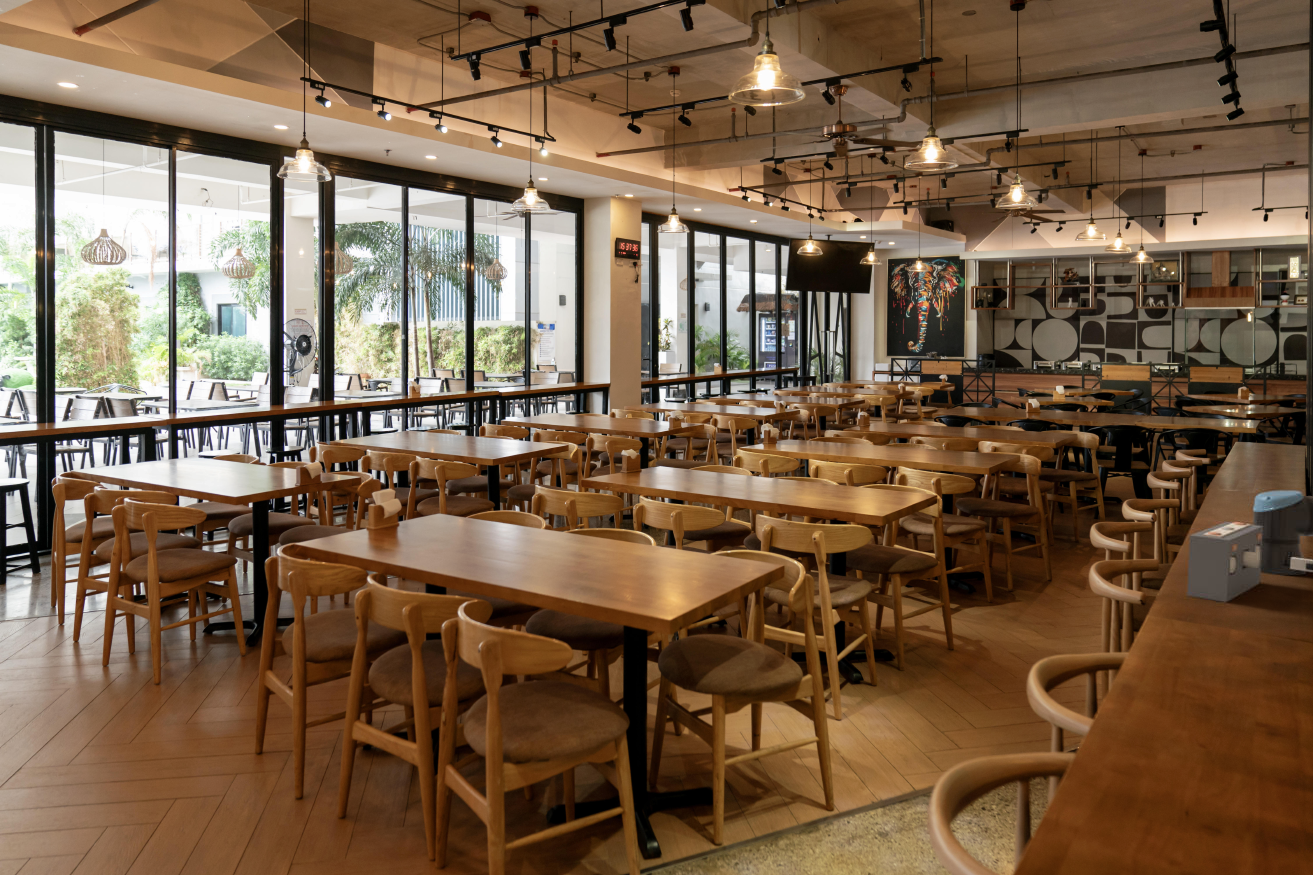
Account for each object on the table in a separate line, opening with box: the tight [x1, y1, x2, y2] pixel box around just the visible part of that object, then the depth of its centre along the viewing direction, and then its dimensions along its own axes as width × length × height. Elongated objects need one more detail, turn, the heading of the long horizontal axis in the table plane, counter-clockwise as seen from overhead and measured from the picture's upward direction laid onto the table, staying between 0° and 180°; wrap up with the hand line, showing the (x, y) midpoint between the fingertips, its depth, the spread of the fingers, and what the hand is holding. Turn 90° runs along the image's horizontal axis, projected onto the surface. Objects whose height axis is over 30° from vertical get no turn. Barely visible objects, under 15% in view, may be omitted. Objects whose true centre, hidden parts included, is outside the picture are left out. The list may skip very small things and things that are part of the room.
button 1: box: [1230, 557, 1236, 573], centre depth 232 cm, size 4×6×4 cm
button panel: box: [1186, 521, 1263, 603], centre depth 241 cm, size 30×9×17 cm, turn 132°
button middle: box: [1243, 551, 1260, 568], centre depth 238 cm, size 4×6×4 cm
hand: (1291, 562), depth 222 cm, fingers closed
